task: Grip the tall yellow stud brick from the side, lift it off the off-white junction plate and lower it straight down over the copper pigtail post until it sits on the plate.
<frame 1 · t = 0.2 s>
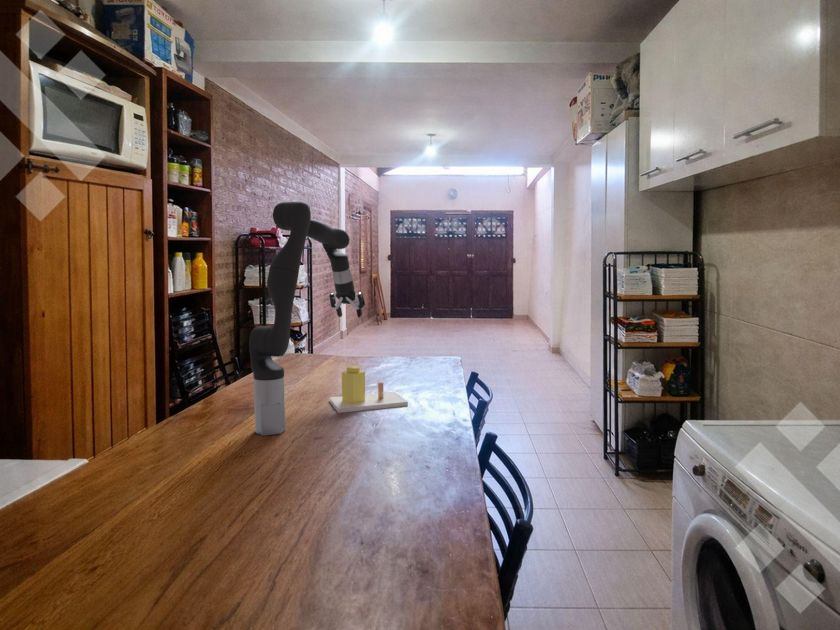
hand: (350, 316, 216), 30 cm above the table, tool tilted 20°, fingers open, 8 cm apart
junction plate: (368, 403, 197), on the table
tall yellow stud brick: (353, 400, 195), point 1 cm above the table, touching junction plate
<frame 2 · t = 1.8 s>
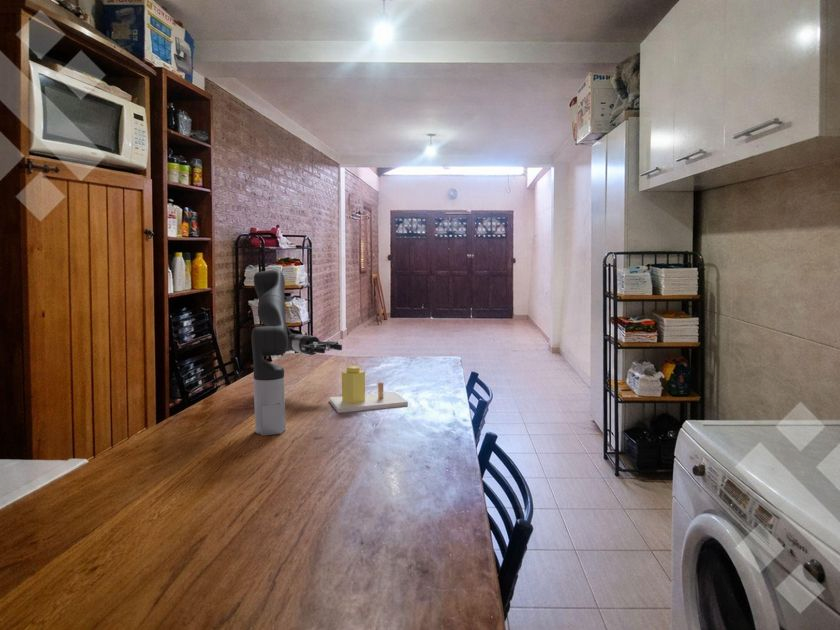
hand: (332, 349, 200), 20 cm above the table, tool horizontal, fingers open, 8 cm apart
nothing on the table moved.
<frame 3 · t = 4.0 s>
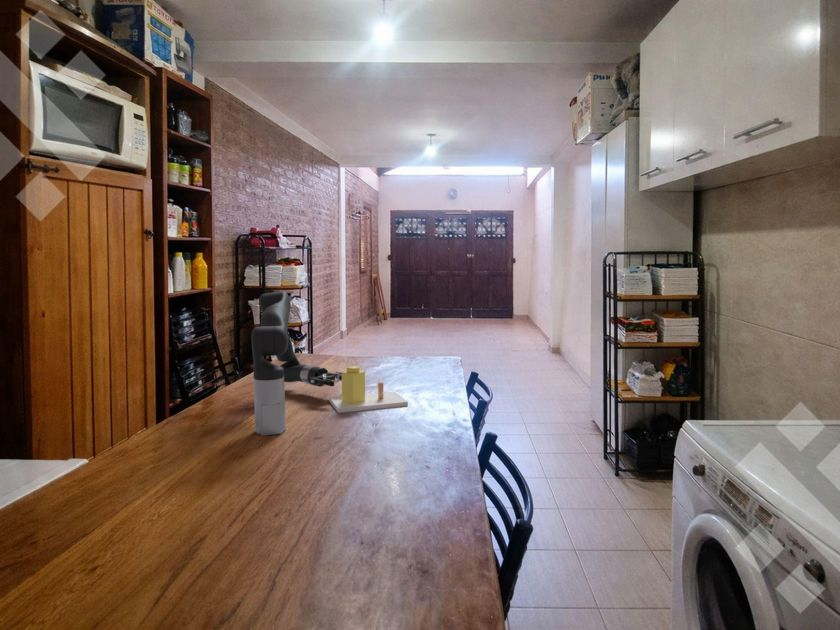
hand: (342, 381, 198), 8 cm above the table, tool horizontal, fingers open, 8 cm apart
nothing on the table moved.
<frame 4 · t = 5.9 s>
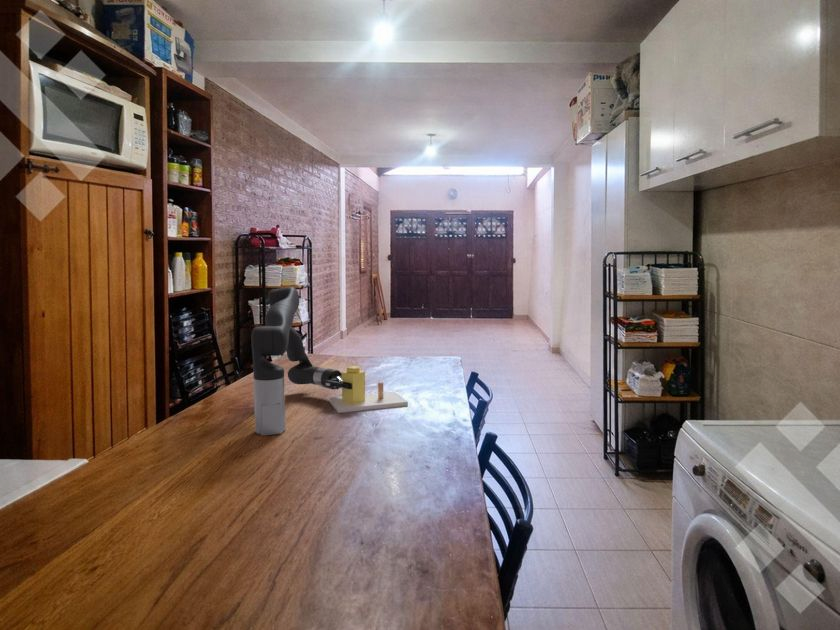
hand: (358, 384, 192), 8 cm above the table, tool horizontal, fingers closed on tall yellow stud brick, 6 cm apart
tall yellow stud brick: (353, 400, 195), point 2 cm above the table, touching gripper, junction plate
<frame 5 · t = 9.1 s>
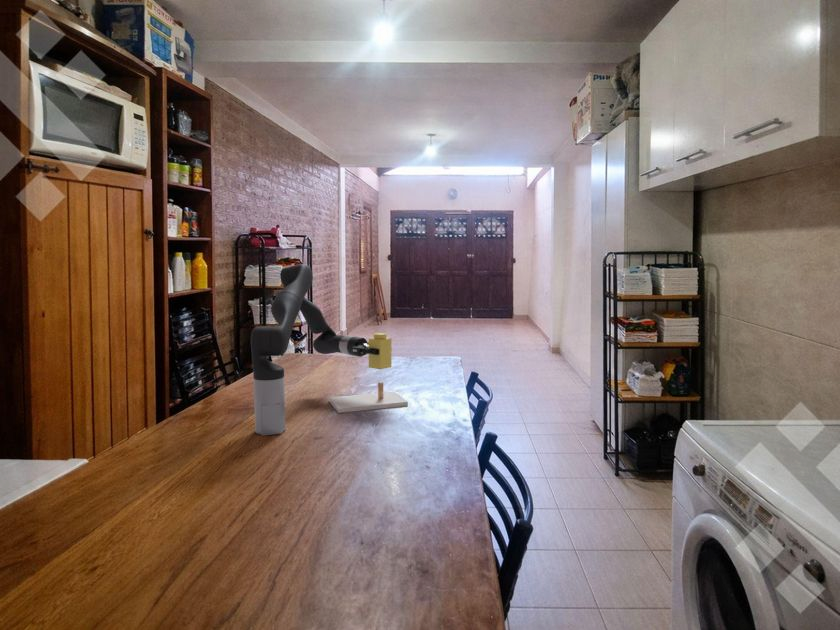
hand: (384, 350, 195), 20 cm above the table, tool horizontal, fingers closed on tall yellow stud brick, 6 cm apart
tall yellow stud brick: (380, 367, 197), point 13 cm above the table, touching gripper
when the fingers open (8 cm above the table, at t = 12.5 s): tall yellow stud brick stays where it is, resting on junction plate.
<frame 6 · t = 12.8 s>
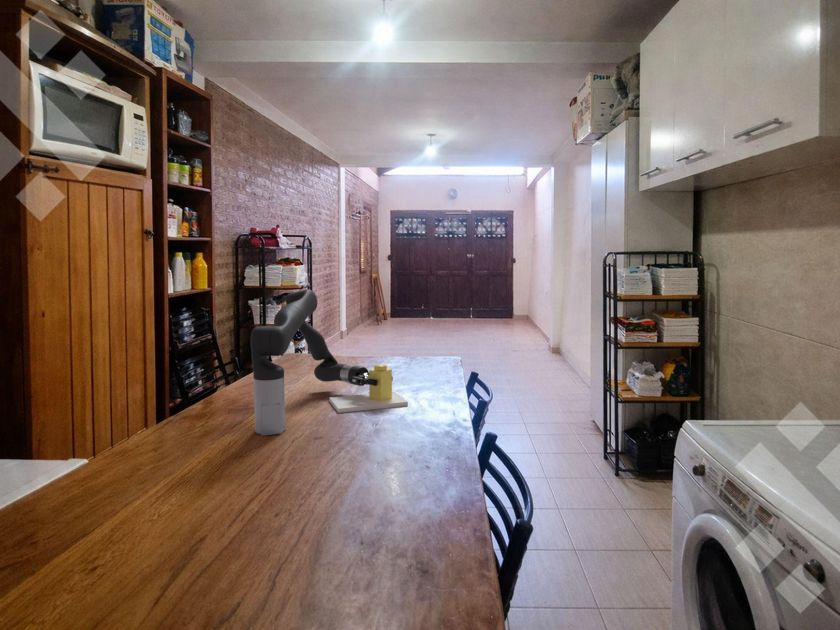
hand: (384, 380, 196), 8 cm above the table, tool horizontal, fingers open, 8 cm apart
tall yellow stud brick: (380, 398, 198), point 1 cm above the table, touching junction plate
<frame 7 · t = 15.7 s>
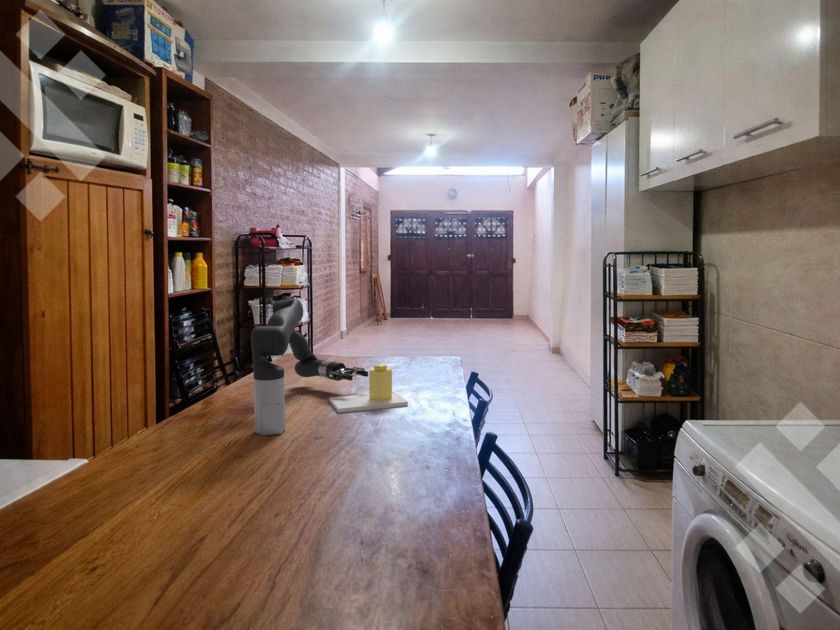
hand: (360, 375, 205), 9 cm above the table, tool horizontal, fingers open, 8 cm apart
nothing on the table moved.
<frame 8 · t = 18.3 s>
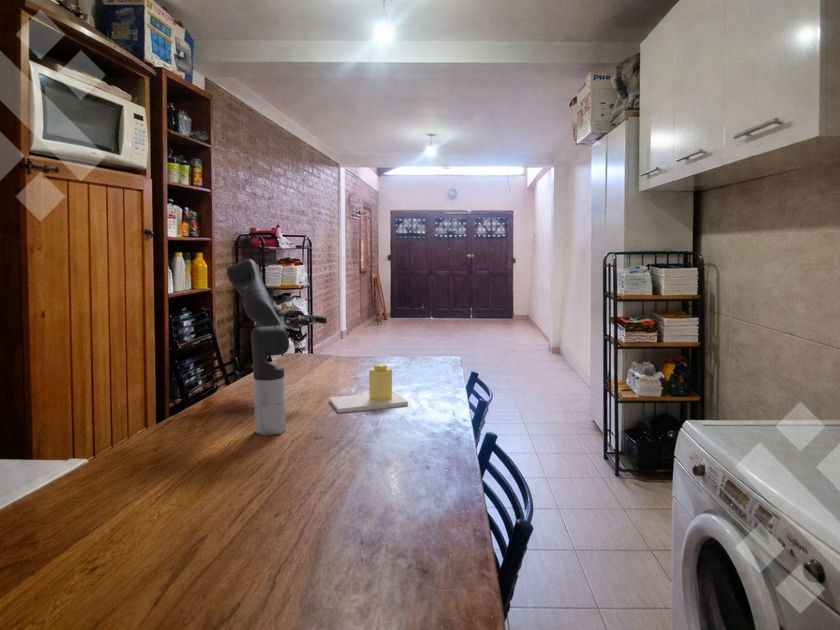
hand: (317, 321, 200), 30 cm above the table, tool horizontal, fingers open, 8 cm apart
nothing on the table moved.
at the end: tall yellow stud brick 0.0 cm from the target spot on the junction plate, point 1.5 cm above the junction plate's base; tall yellow stud brick tilted 0°; the gripper is holding nothing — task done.
